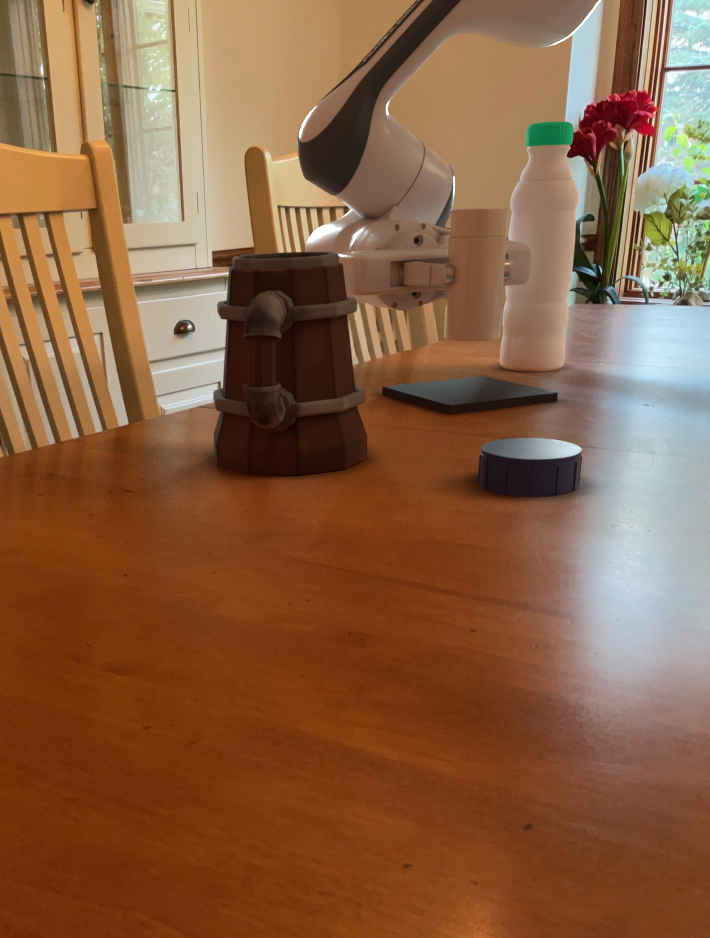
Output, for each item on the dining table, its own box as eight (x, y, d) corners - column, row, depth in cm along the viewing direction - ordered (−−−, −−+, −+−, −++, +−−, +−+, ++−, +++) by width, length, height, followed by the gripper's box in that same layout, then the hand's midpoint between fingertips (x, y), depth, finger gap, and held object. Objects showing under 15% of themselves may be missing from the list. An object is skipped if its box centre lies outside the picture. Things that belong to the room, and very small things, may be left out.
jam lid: (458, 484, 73) (460, 446, 72) (524, 469, 76) (527, 433, 75) (531, 504, 67) (534, 464, 66) (598, 487, 71) (602, 449, 70)
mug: (232, 441, 88) (226, 251, 82) (376, 444, 85) (380, 248, 79) (178, 489, 74) (165, 265, 68) (347, 495, 71) (350, 262, 65)
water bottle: (495, 372, 116) (511, 122, 106) (503, 362, 122) (519, 125, 112) (561, 373, 114) (584, 118, 104) (565, 364, 120) (587, 122, 110)
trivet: (481, 385, 109) (482, 375, 108) (557, 403, 99) (558, 392, 98) (381, 396, 105) (382, 386, 104) (449, 416, 94) (450, 405, 94)
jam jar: (475, 332, 102) (483, 206, 98) (511, 337, 98) (521, 207, 93) (432, 336, 100) (438, 208, 96) (467, 342, 96) (475, 209, 91)
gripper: (310, 237, 103) (382, 242, 91) (482, 228, 110) (569, 231, 99) (310, 304, 106) (380, 317, 94) (479, 290, 113) (563, 301, 101)
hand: (479, 273), depth 96 cm, fingers closed on jam jar, 5 cm apart
